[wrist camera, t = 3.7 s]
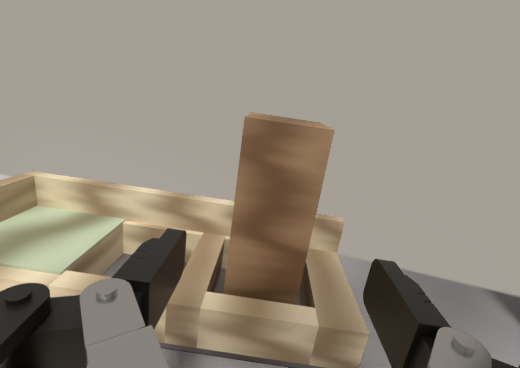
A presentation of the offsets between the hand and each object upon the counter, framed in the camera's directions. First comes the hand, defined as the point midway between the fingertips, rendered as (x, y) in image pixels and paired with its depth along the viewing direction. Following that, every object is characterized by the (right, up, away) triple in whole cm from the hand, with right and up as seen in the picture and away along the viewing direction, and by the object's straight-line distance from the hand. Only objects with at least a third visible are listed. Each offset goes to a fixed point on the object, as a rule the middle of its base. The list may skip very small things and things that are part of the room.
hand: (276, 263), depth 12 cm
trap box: (-8, -5, +10) cm, 14 cm away
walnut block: (-1, -6, +10) cm, 12 cm away
